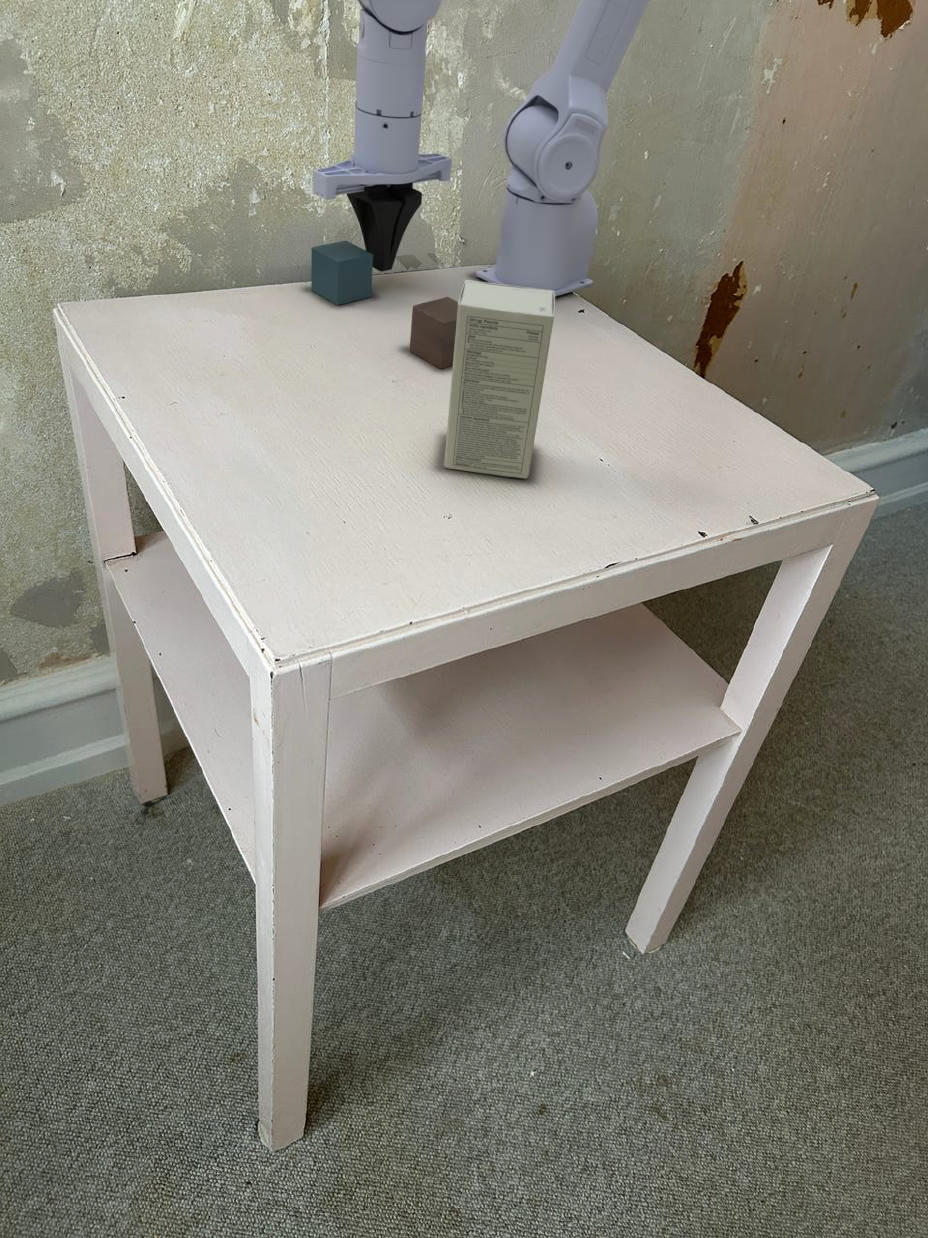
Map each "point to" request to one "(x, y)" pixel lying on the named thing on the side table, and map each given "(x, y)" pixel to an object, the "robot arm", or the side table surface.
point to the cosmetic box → (497, 377)
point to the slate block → (341, 272)
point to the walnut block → (434, 331)
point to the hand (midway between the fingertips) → (380, 267)
